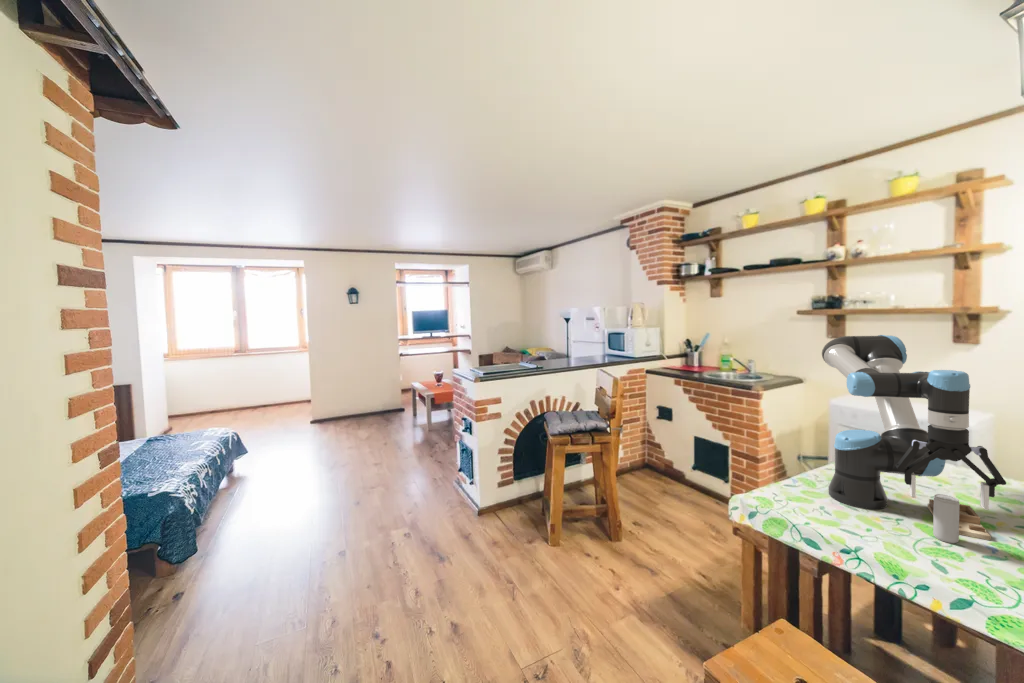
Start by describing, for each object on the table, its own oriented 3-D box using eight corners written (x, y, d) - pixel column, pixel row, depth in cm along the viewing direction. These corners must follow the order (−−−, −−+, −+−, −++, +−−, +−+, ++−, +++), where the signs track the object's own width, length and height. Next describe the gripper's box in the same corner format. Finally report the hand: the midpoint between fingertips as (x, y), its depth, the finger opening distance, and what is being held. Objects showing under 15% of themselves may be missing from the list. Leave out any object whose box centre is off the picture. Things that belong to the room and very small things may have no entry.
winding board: (942, 531, 112) (943, 520, 112) (927, 507, 125) (927, 498, 124) (990, 540, 106) (990, 529, 106) (969, 514, 119) (969, 504, 119)
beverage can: (964, 544, 105) (965, 502, 105) (943, 543, 106) (943, 501, 106) (948, 534, 110) (949, 494, 109) (928, 533, 111) (928, 493, 110)
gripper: (887, 424, 110) (887, 496, 112) (1026, 436, 96) (1025, 519, 97) (883, 418, 116) (883, 486, 118) (1012, 428, 102) (1011, 506, 103)
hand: (947, 501), depth 107 cm, fingers open, 13 cm apart
